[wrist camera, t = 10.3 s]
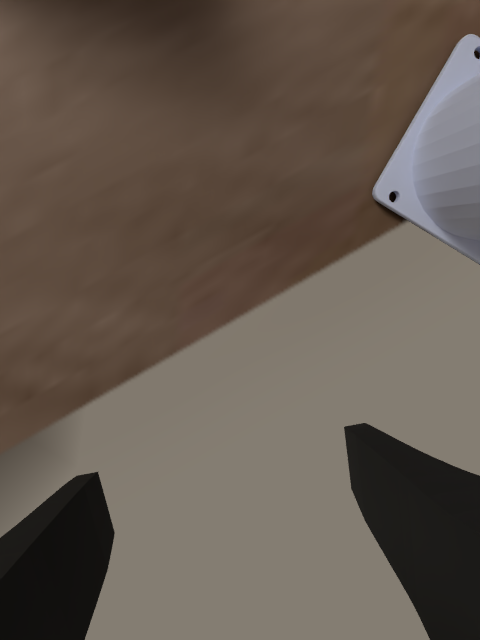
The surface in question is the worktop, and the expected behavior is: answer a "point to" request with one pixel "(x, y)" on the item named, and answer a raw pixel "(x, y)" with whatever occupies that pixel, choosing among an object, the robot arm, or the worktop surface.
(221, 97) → the worktop surface
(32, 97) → the worktop surface
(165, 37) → the worktop surface
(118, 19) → the worktop surface
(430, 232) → the robot arm
